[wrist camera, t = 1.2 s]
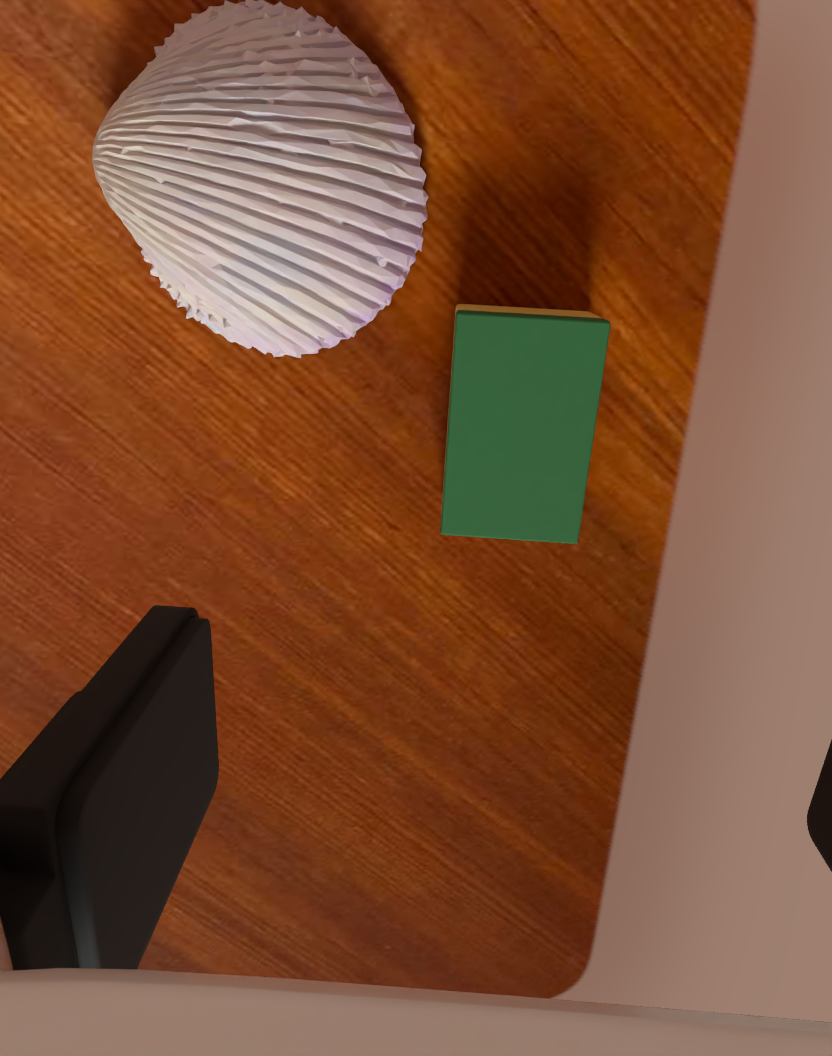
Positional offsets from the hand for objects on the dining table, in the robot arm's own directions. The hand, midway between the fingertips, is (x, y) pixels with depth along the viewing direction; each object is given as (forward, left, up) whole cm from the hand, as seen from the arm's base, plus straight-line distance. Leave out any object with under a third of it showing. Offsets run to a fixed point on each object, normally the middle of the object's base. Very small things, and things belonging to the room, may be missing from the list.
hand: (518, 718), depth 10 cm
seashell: (+1, -11, -17) cm, 20 cm away
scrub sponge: (-1, 0, -17) cm, 17 cm away
